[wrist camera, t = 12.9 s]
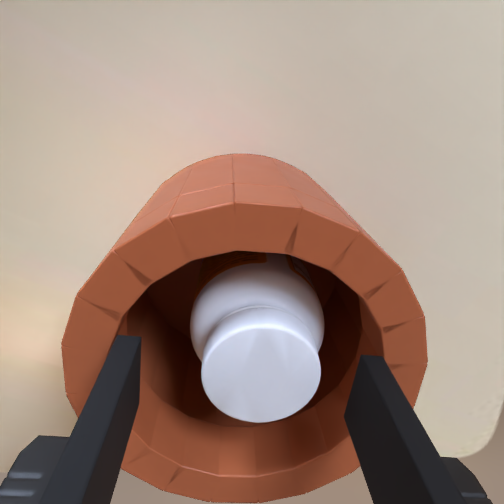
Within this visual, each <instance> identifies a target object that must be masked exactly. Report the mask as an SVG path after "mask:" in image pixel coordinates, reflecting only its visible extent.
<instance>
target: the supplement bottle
mask: <svg viewBox="0 0 504 504" xmlns="http://www.w3.org/2000/svg"><path fill="white" fill-rule="evenodd" d="M190 334H191V340H192V344H193V347H194V350H195V352H196V354H197V356H198V357H199V359H200V360H201V362H202V368H201V379H202V385H203V388H204V390H205V393H206V395H207V396H208V398H209V399H210V401H211V402H212V403H213V404H214V405H215V406H216V407H217V408H218V409H219V410H220V411H222V412H223V413H225V414H227V415H229V416H231V417H233V418H235V419H239V420H242V421H248V422H256V423H261V422H271V421H276V420H280V419H283V418H286V417H288V416H290V415H292V414H294V413H296V412H297V411H299V410H300V409H301V408H303V407H304V406H305V405H306V404H307V403H308V402H309V401H310V400H311V399H312V397H313V395H314V394H315V392H316V390H317V388H318V385H319V382H320V376H321V365H320V360H319V356H318V352H319V349H320V347H321V344H322V341H323V337H324V315H323V311H322V307H321V303H320V300H319V298H318V295H317V293H316V291H315V288H314V286H313V283H312V281H311V278H310V276H309V273H308V271H307V268H306V266H305V263H304V261H303V260H301V259H299V258H296V257H294V256H291V255H289V254H280V253H265V252H251V251H233V252H228V253H224V254H219V255H215V256H210V257H206V258H203V259H202V264H201V269H200V274H199V278H198V283H197V287H196V292H195V297H194V302H193V307H192V311H191V319H190Z"/></svg>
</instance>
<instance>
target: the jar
mask: <svg viewBox="0 0 504 504" xmlns="http://www.w3.org/2000/svg"><path fill="white" fill-rule="evenodd" d="M233 251H251V252H265V253H280V254H289V255H291V256H294V257H296V258H299V259H301V260H303V261H304V263H305V266H306V268H307V271H308V273H309V276H310V278H311V281H312V283H313V286H314V288H315V291H316V293H317V295H318V298H319V300H320V303H321V307H322V311H323V315H324V337H323V341H322V344H321V347H320V349H319V352H318V356H319V360H320V365H321V376H320V382H319V385H318V388H317V390H316V392H315V394H314V395H313V397H312V399H311V400H310V401H309V402H308V403H307V404H306V405H305V406H304V407H303V408H301V409H300V410H299V411H297V412H296V413H294V414H292V415H290V416H288V417H286V418H283V419H280V420H276V421H271V422H261V423H256V422H248V421H242V420H239V419H235V418H233V417H231V416H229V415H227V414H225V413H223V412H222V411H220V410H219V409H218V408H217V407H216V406H215V405H214V404H213V403H212V402H211V401H210V399H209V398H208V396H207V395H206V393H205V390H204V388H203V385H202V379H201V368H202V362H201V360H200V359H199V357H198V356H197V354H196V352H195V350H194V347H193V344H192V340H191V334H190V319H191V311H192V307H193V302H194V297H195V292H196V287H197V283H198V278H199V274H200V269H201V264H202V259H203V258H206V257H210V256H215V255H219V254H224V253H228V252H233ZM117 335H126V336H139V337H142V341H141V370H140V400H139V406H138V410H137V413H136V417H135V420H134V423H133V427H132V430H131V434H130V437H129V441H128V444H127V447H126V451H125V454H124V458H123V461H122V464H121V469H122V470H124V471H126V472H128V473H130V474H132V475H134V476H136V477H137V478H139V479H141V480H143V481H145V482H147V483H149V484H151V485H153V486H155V487H156V488H158V489H160V490H162V491H163V490H164V491H166V492H170V493H174V494H178V495H182V496H186V497H190V498H194V499H198V500H202V501H207V502H210V501H211V502H228V503H229V502H230V503H257V502H259V503H262V502H268V501H272V500H277V499H282V498H287V497H292V496H297V495H301V494H305V493H306V492H307V493H308V492H310V491H313V490H315V489H317V488H319V487H322V486H324V485H326V484H328V483H330V482H332V481H335V480H337V479H339V478H341V477H344V476H346V475H348V474H349V473H352V472H353V471H355V470H356V469H357V468H358V467H359V466H360V463H359V460H358V457H357V454H356V451H355V448H354V445H353V443H352V440H351V437H350V434H349V431H348V428H347V425H346V422H345V420H344V413H345V410H346V406H347V402H348V399H349V395H350V392H351V388H352V385H353V381H354V378H355V374H356V370H357V367H358V363H359V360H360V356H361V355H373V356H383V358H384V360H385V361H386V363H387V365H388V367H389V368H390V370H391V372H392V374H393V375H394V377H395V379H396V381H397V382H398V384H399V386H400V388H401V389H402V391H403V393H404V395H405V396H406V398H407V400H408V402H409V403H410V405H411V407H412V408H414V406H415V403H416V399H417V396H418V393H419V390H420V387H421V383H422V380H423V377H424V374H425V371H426V367H427V362H428V358H427V342H426V327H425V316H424V313H423V311H422V309H421V307H420V305H419V302H418V300H417V298H416V296H415V294H414V292H413V290H412V288H411V286H410V284H409V282H408V280H407V278H406V276H405V274H404V272H403V270H402V268H401V267H400V266H399V265H398V264H397V263H396V262H395V261H394V260H393V259H392V258H391V257H390V256H389V255H388V254H387V253H386V252H385V251H384V250H383V249H382V248H381V247H380V246H379V245H378V244H377V243H376V242H375V241H374V240H373V239H372V238H371V237H370V236H369V235H368V234H367V233H366V232H365V231H364V230H363V229H362V228H361V226H360V225H359V224H358V223H357V222H356V221H355V220H354V219H353V218H352V217H351V216H350V215H349V214H348V213H347V212H346V211H345V210H344V209H343V208H342V207H341V206H340V205H339V204H338V203H337V202H336V201H335V200H334V199H333V198H332V197H331V196H330V195H329V194H328V193H327V192H326V191H325V190H324V189H322V188H321V187H320V186H319V185H318V184H317V183H316V182H315V181H314V180H313V179H312V178H311V177H309V176H308V175H307V174H306V173H304V172H303V171H301V170H298V169H297V168H295V167H293V166H292V165H289V164H287V163H285V162H282V161H280V160H277V159H273V158H270V157H266V156H261V155H253V154H228V155H221V156H215V157H212V158H208V159H205V160H201V161H199V162H196V163H194V164H192V165H190V166H188V167H186V168H184V169H183V170H181V171H179V172H178V173H176V174H175V175H173V176H172V177H171V178H170V179H168V180H167V181H165V182H164V183H162V185H161V186H160V187H159V188H158V190H157V191H156V192H155V193H154V194H153V196H152V197H151V198H150V199H149V201H148V202H147V203H146V204H145V206H144V207H143V208H142V209H141V211H140V212H139V213H138V215H137V216H136V217H135V219H134V220H133V221H132V222H131V224H130V225H129V226H128V228H127V229H126V230H125V232H124V233H123V234H122V236H121V237H120V238H119V239H118V241H117V242H116V243H115V245H114V246H113V247H112V249H111V250H110V251H109V253H108V254H107V255H106V256H105V258H104V259H103V260H102V262H101V263H100V264H99V266H98V267H97V268H96V270H95V271H94V272H93V273H92V275H91V276H90V277H89V279H88V280H87V281H86V283H85V284H84V285H83V287H82V288H81V289H80V290H79V292H78V293H77V295H76V297H75V300H74V304H73V307H72V310H71V313H70V317H69V320H68V323H67V326H66V330H65V333H64V336H63V339H62V343H61V345H62V347H61V348H62V358H63V368H64V379H65V389H66V393H67V394H66V395H67V397H68V399H69V401H70V403H71V405H72V407H73V409H74V411H75V413H76V415H77V417H78V418H79V416H80V414H81V412H82V410H83V407H84V405H85V403H86V401H87V399H88V397H89V395H90V392H91V390H92V388H93V386H94V384H95V382H96V380H97V377H98V375H99V373H100V371H101V369H102V367H103V365H104V362H105V360H106V358H107V356H108V354H109V352H110V350H111V347H112V345H113V343H114V341H115V339H116V337H117Z"/></svg>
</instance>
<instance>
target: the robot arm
mask: <svg viewBox="0 0 504 504" xmlns="http://www.w3.org/2000/svg"><path fill="white" fill-rule="evenodd" d="M141 341H142V337H139V336H126V335H117V337H116V339H115V341H114V343H113V345H112V347H111V350H110V352H109V354H108V356H107V358H106V360H105V362H104V365H103V367H102V369H101V371H100V373H99V375H98V377H97V380H96V382H95V384H94V386H93V388H92V390H91V392H90V395H89V397H88V399H87V401H86V403H85V405H84V407H83V410H82V412H81V414H80V416H79V418H78V420H77V422H76V425H75V427H74V429H73V431H72V433H71V435H70V437H58V436H40V435H39V436H38V437H37V438H35V439H34V440H33V441H32V442H31V443H30V444H29V445H28V446H27V447H26V448H24V449H23V450H22V451H21V452H20V453H19V455H18V457H17V458H16V460H15V462H14V463H13V465H12V467H11V469H10V470H9V472H8V475H7V477H6V478H5V479H4V481H3V482H2V484H1V486H0V504H110V502H111V498H112V495H113V491H114V488H115V484H116V481H117V478H118V474H119V471H120V468H121V464H122V461H123V458H124V454H125V451H126V447H127V444H128V441H129V437H130V434H131V430H132V427H133V423H134V420H135V417H136V413H137V410H138V406H139V400H140V370H141ZM344 420H345V422H346V425H347V428H348V431H349V434H350V437H351V440H352V443H353V445H354V448H355V451H356V454H357V457H358V460H359V463H360V466H361V469H362V471H363V474H364V477H365V480H366V483H367V486H368V489H369V492H370V494H371V497H372V500H373V503H374V504H492V502H491V500H490V499H488V498H487V495H486V492H485V491H484V489H483V488H482V486H481V485H480V483H479V481H478V480H477V478H476V477H475V475H474V474H473V473H472V472H471V471H470V470H469V469H468V468H467V467H466V466H464V465H463V464H462V463H461V462H460V461H459V460H458V459H457V458H451V457H440V456H439V454H438V452H437V450H436V449H435V447H434V445H433V443H432V442H431V440H430V438H429V436H428V435H427V433H426V431H425V429H424V428H423V426H422V424H421V422H420V421H419V419H418V417H417V415H416V414H415V412H414V410H413V408H412V407H411V405H410V403H409V402H408V400H407V398H406V396H405V395H404V393H403V391H402V389H401V388H400V386H399V384H398V382H397V381H396V379H395V377H394V375H393V374H392V372H391V370H390V368H389V367H388V365H387V363H386V361H385V360H384V358H383V356H373V355H361V356H360V360H359V363H358V367H357V370H356V374H355V378H354V381H353V385H352V388H351V392H350V395H349V399H348V402H347V406H346V410H345V413H344Z"/></svg>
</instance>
